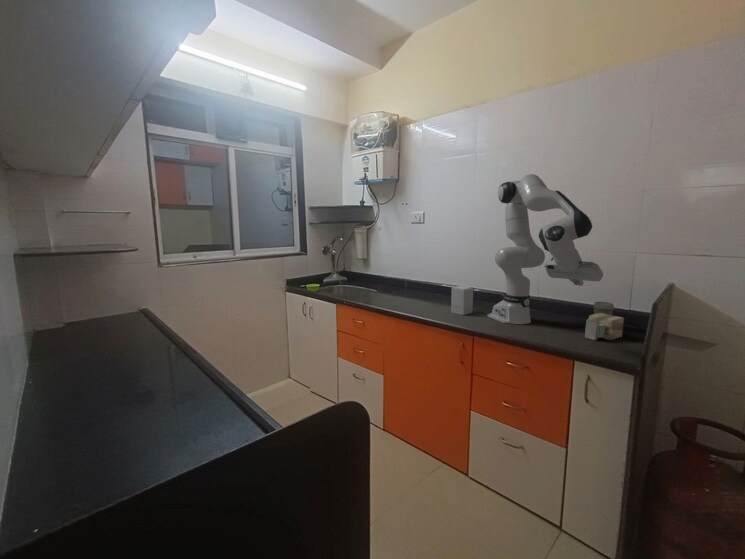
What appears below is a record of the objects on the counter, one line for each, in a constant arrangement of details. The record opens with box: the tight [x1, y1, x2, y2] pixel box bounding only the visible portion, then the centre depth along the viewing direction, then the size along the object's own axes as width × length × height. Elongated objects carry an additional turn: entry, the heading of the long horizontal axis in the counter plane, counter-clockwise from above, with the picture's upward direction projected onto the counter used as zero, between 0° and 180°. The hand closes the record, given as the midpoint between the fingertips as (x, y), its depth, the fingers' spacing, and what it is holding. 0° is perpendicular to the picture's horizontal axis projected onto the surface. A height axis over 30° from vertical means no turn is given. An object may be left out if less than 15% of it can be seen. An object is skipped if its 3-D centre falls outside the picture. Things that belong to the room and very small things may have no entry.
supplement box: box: [450, 285, 474, 316], centre depth 196 cm, size 9×9×15 cm
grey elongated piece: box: [584, 318, 599, 341], centre depth 153 cm, size 4×18×8 cm, turn 118°
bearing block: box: [588, 313, 625, 341], centre depth 154 cm, size 10×9×9 cm
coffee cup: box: [592, 301, 615, 315], centre depth 166 cm, size 8×9×12 cm
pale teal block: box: [598, 323, 605, 339], centre depth 151 cm, size 5×4×5 cm, turn 28°
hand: (579, 284), depth 141 cm, fingers closed
